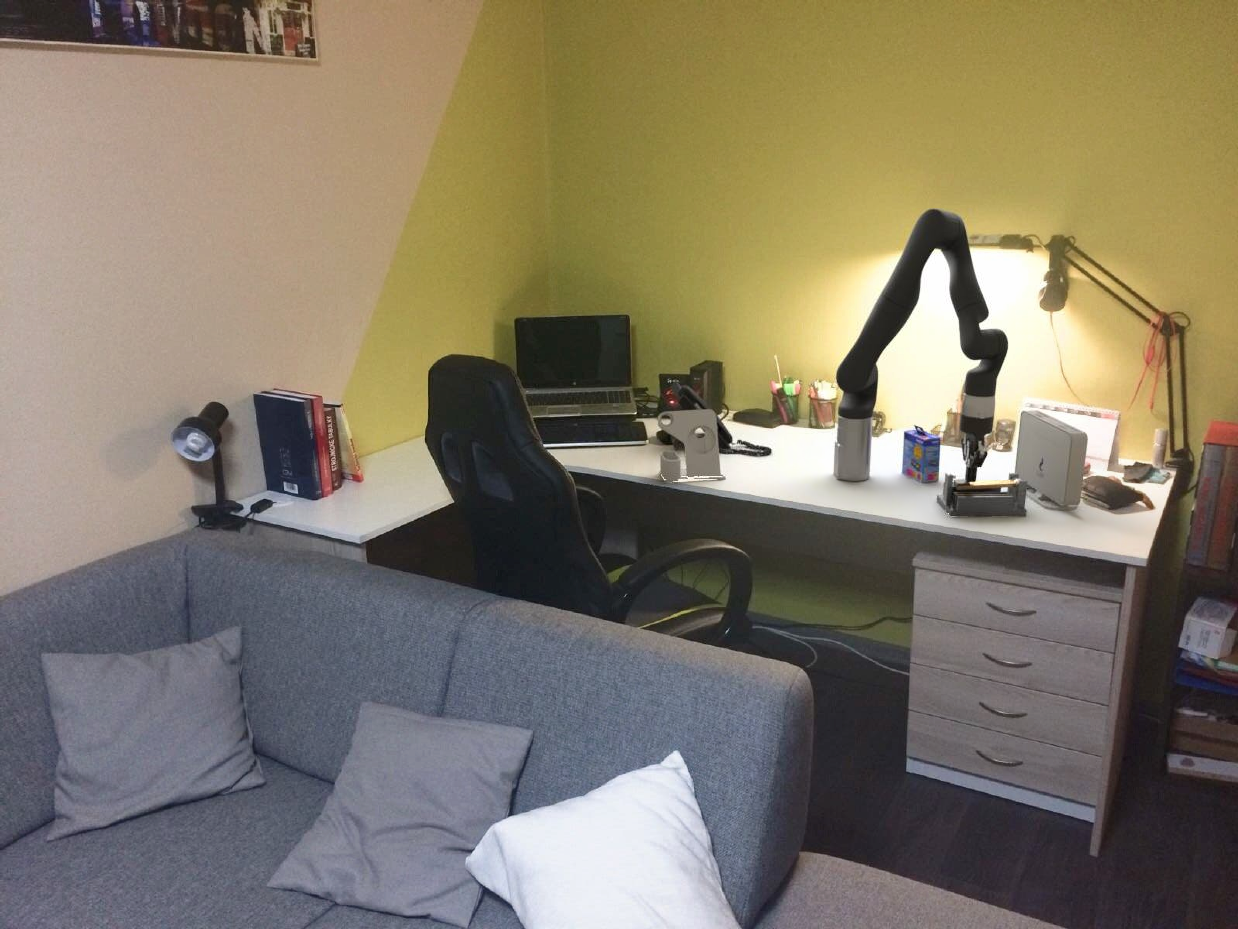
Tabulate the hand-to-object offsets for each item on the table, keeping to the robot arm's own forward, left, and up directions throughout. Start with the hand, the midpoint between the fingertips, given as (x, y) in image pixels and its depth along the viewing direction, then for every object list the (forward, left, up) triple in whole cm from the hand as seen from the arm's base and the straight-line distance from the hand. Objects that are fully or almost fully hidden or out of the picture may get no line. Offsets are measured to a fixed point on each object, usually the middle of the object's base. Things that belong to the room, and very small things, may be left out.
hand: (970, 481), depth 237 cm
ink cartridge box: (-5, +26, -7) cm, 27 cm away
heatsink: (+3, 0, -7) cm, 8 cm away
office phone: (-57, +61, -8) cm, 84 cm away
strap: (+4, 0, -2) cm, 5 cm away
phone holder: (-67, +29, -7) cm, 73 cm away
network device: (+22, +8, -7) cm, 25 cm away
